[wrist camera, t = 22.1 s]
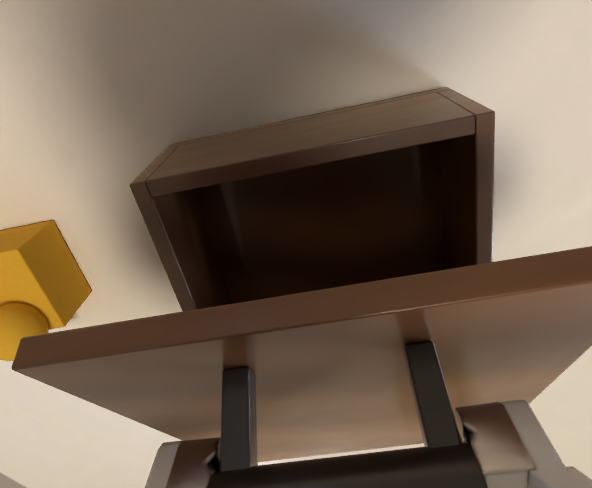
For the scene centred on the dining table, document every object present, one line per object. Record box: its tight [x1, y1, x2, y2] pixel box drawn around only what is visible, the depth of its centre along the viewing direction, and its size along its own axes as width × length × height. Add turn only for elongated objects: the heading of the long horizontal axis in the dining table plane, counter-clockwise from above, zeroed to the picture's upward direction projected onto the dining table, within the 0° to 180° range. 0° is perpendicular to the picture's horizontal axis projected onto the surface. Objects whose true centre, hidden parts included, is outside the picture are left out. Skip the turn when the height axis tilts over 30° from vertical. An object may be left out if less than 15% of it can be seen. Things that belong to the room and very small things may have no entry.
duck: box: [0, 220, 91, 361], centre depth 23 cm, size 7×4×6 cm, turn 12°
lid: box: [12, 246, 592, 488], centre depth 15 cm, size 17×14×5 cm
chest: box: [130, 87, 495, 312], centre depth 22 cm, size 16×14×6 cm
